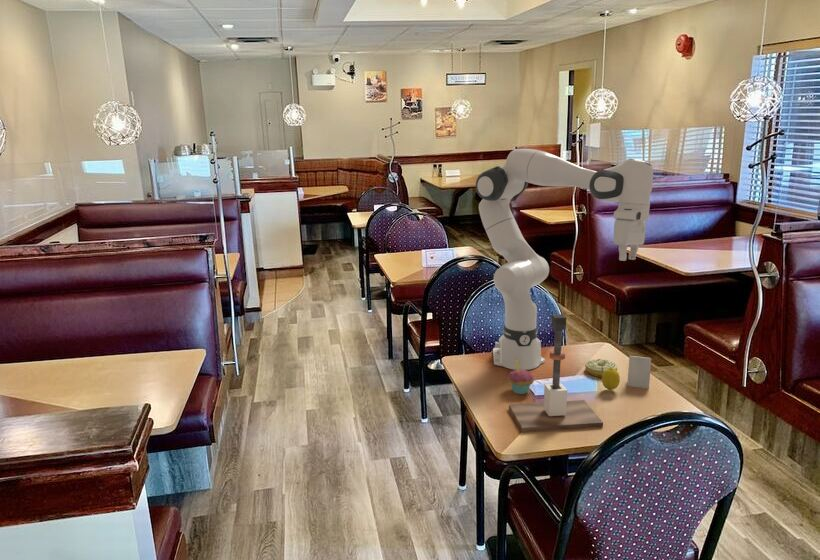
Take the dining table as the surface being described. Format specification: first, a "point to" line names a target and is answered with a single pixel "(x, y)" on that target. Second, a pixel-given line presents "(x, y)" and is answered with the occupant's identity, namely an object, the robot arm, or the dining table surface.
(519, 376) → the cupcake
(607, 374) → the lemon
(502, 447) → the dining table surface
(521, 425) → the post stand
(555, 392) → the sleeve
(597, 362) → the decorated donut
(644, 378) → the grey rectangular block
